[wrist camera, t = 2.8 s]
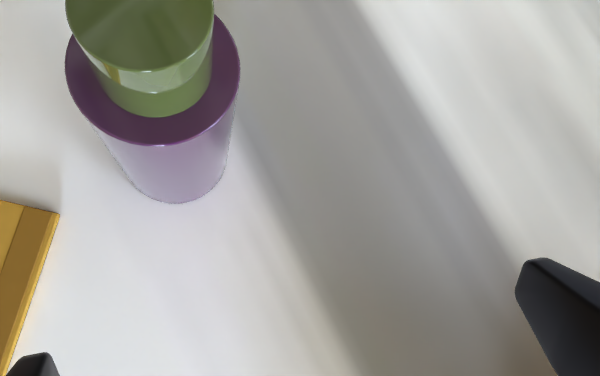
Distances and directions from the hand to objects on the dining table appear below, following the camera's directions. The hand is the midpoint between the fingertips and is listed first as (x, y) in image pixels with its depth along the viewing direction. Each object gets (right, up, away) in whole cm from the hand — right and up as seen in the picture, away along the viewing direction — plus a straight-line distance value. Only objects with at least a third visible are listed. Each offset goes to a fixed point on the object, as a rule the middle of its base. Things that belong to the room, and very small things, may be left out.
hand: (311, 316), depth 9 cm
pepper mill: (-6, +4, +14) cm, 16 cm away
